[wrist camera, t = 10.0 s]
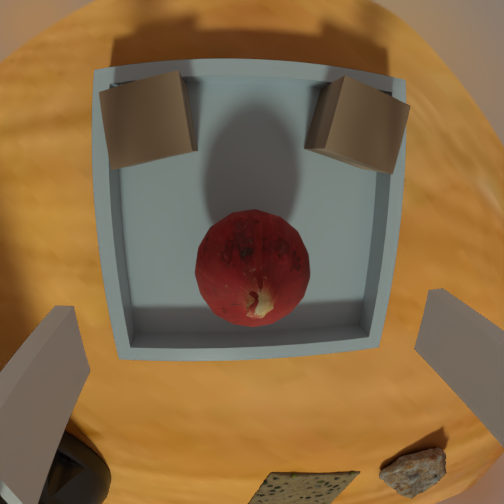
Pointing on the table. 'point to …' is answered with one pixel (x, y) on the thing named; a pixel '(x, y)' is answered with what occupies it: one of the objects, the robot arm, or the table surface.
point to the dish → (240, 199)
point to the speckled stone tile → (302, 488)
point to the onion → (252, 268)
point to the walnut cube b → (358, 125)
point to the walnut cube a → (147, 120)
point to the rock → (415, 472)
